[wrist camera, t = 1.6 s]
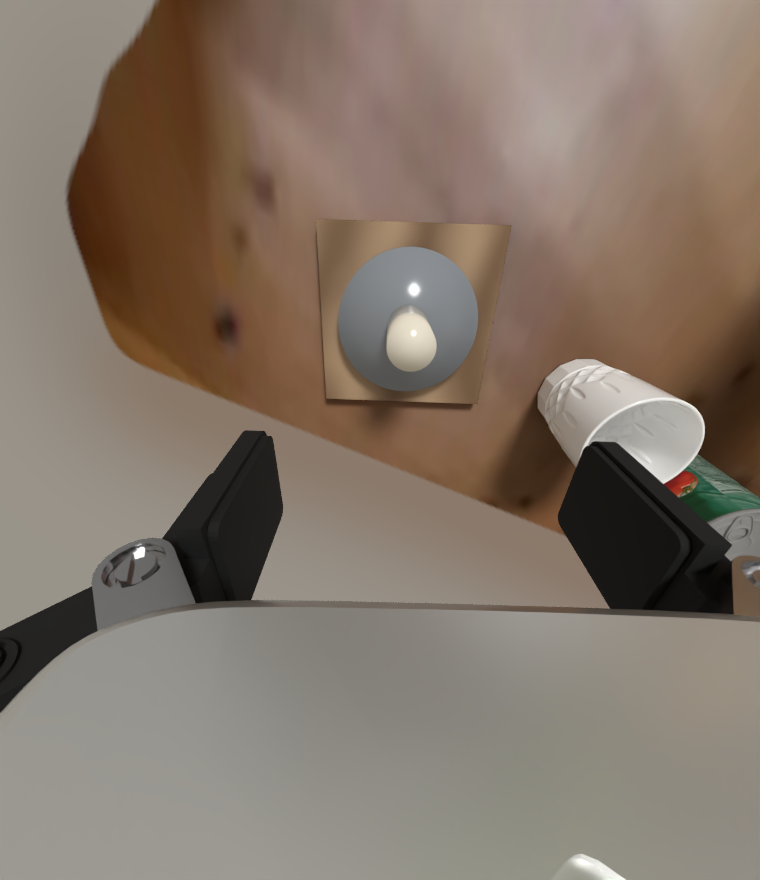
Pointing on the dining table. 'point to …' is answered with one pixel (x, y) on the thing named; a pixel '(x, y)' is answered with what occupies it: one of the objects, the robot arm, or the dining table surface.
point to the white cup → (620, 416)
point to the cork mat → (360, 241)
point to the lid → (408, 318)
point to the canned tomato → (721, 505)
